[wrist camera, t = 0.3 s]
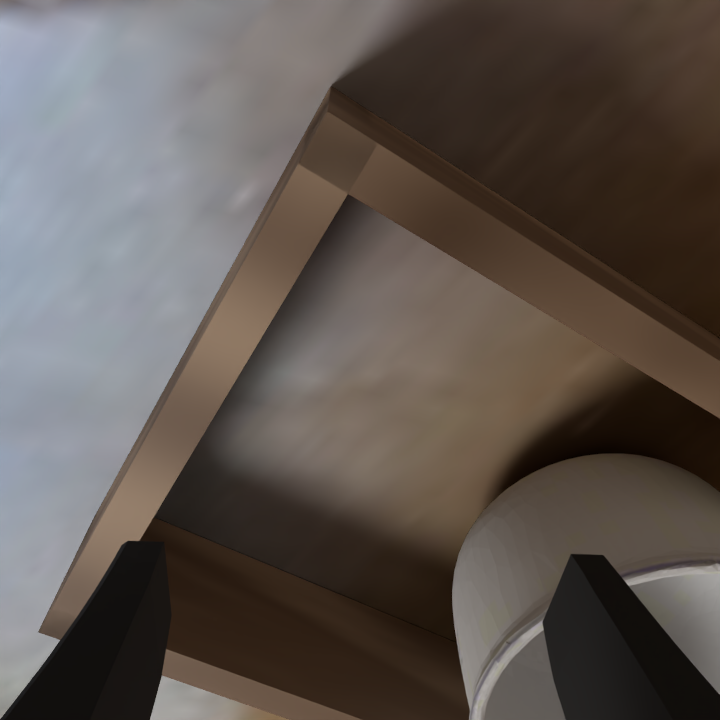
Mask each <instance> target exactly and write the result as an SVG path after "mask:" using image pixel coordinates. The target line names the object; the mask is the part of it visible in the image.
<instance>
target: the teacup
mask: <svg viewBox="0 0 720 720" xmlns="http://www.w3.org/2000/svg"><path fill="white" fill-rule="evenodd" d="M571 554H592V555H604V556H605V557H606V559H607V560H608V561H609V562H610V564H611V565H612V566H613V567H614V568H615V570H616V571H617V572H618V573H619V575H620V576H621V577H622V578H623V580H624V581H625V582H626V583H627V585H628V586H629V587H630V588H631V590H632V591H633V592H634V593H635V595H636V596H637V597H638V598H639V599H640V601H641V602H642V603H643V604H644V606H645V607H646V608H647V609H648V611H649V612H650V613H651V614H652V616H653V617H654V618H655V619H656V620H657V622H658V623H659V624H660V625H661V627H662V628H663V629H664V630H665V631H666V633H667V634H668V635H669V636H670V637H671V639H672V640H673V641H674V642H675V644H676V645H677V646H678V647H679V648H680V649H681V651H682V652H683V653H684V654H685V655H686V656H687V658H688V659H689V660H690V661H691V662H692V663H693V665H694V666H695V667H696V668H697V669H698V670H699V672H700V673H701V674H702V675H703V676H704V677H705V679H706V680H707V681H708V682H709V683H710V684H711V685H712V686H713V688H714V689H715V690H716V691H717V692H718V693H719V694H720V492H719V491H718V490H716V489H715V488H714V487H713V486H711V485H710V484H709V483H707V482H706V481H704V480H703V479H701V478H700V477H698V476H696V475H694V474H693V473H691V472H689V471H687V470H685V469H683V468H681V467H678V466H676V465H673V464H671V463H668V462H665V461H663V460H659V459H654V458H650V457H646V456H641V455H633V454H623V453H614V454H595V455H586V456H581V457H576V458H572V459H567V460H564V461H561V462H558V463H555V464H551V465H548V466H546V467H544V468H542V469H540V470H537V471H535V472H533V473H531V474H530V475H528V476H526V477H524V478H522V479H521V480H519V481H518V482H516V483H515V484H513V485H512V486H510V487H509V488H507V489H506V490H505V491H504V492H502V493H501V494H500V495H499V496H498V497H497V498H496V499H495V500H494V501H492V502H491V503H490V504H489V505H488V506H487V508H486V509H485V510H484V511H483V512H482V513H481V514H480V516H479V517H478V519H477V520H476V521H475V523H474V524H473V526H472V527H471V529H470V531H469V532H468V534H467V536H466V538H465V540H464V543H463V545H462V547H461V550H460V552H459V555H458V559H457V563H456V567H455V570H454V579H453V588H452V606H453V617H454V627H455V633H456V639H457V646H458V652H459V658H460V664H461V669H462V674H463V680H464V685H465V690H466V695H467V699H468V704H469V708H470V714H469V720H566V719H565V716H564V713H563V709H562V706H561V703H560V700H559V697H558V693H557V690H556V687H555V683H554V680H553V675H552V670H551V666H550V661H549V656H548V651H547V645H546V640H545V634H544V629H543V623H542V622H543V620H544V617H545V615H546V612H547V610H548V608H549V605H550V603H551V600H552V598H553V596H554V593H555V591H556V588H557V586H558V584H559V581H560V579H561V576H562V574H563V572H564V569H565V567H566V564H567V562H568V560H569V557H570V555H571Z"/></svg>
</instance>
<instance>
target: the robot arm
mask: <svg viewBox="0 0 720 720" xmlns="http://www.w3.org/2000/svg"><path fill="white" fill-rule="evenodd" d="M171 616H172V613H171V603H170V594H169V584H168V574H167V564H166V554H165V545H164V542H155V541H127V542H125V543H124V544H122V545H121V547H120V549H119V551H118V552H117V554H116V556H115V558H114V559H113V561H112V563H111V564H110V566H109V568H108V569H107V571H106V573H105V574H104V576H103V578H102V579H101V581H100V582H99V584H98V586H97V587H96V589H95V590H94V592H93V593H92V595H91V596H90V598H89V599H88V601H87V603H86V604H85V606H84V607H83V609H82V610H81V612H80V613H79V615H78V616H77V618H76V619H75V620H74V622H73V623H72V625H71V626H70V627H69V629H68V630H67V632H66V633H65V634H64V636H63V637H62V639H61V640H60V642H59V643H58V644H57V646H56V647H55V649H54V650H53V651H52V653H51V654H50V656H49V657H48V658H47V660H46V661H45V662H44V664H43V665H42V667H41V668H40V669H39V671H38V672H37V673H36V674H35V676H34V677H33V678H32V679H31V681H30V682H29V683H28V685H27V686H26V687H25V688H24V690H23V691H22V692H21V694H20V695H19V696H18V697H17V699H16V700H15V701H14V703H13V704H12V705H11V706H10V708H9V709H8V710H7V712H6V713H5V714H4V715H3V717H2V718H1V719H0V720H150V717H151V713H152V710H153V706H154V702H155V698H156V695H157V691H158V687H159V684H160V680H161V676H162V670H163V665H164V659H165V653H166V647H167V641H168V635H169V629H170V623H171ZM542 623H543V629H544V634H545V640H546V645H547V651H548V656H549V661H550V666H551V670H552V675H553V680H554V683H555V687H556V690H557V693H558V697H559V700H560V703H561V706H562V709H563V713H564V716H565V719H566V720H720V694H719V693H718V692H717V691H716V690H715V689H714V688H713V686H712V685H711V684H710V683H709V682H708V681H707V680H706V679H705V677H704V676H703V675H702V674H701V673H700V672H699V670H698V669H697V668H696V667H695V666H694V665H693V663H692V662H691V661H690V660H689V659H688V658H687V656H686V655H685V654H684V653H683V652H682V651H681V649H680V648H679V647H678V646H677V645H676V644H675V642H674V641H673V640H672V639H671V637H670V636H669V635H668V634H667V633H666V631H665V630H664V629H663V628H662V627H661V625H660V624H659V623H658V622H657V620H656V619H655V618H654V617H653V616H652V614H651V613H650V612H649V611H648V609H647V608H646V607H645V606H644V604H643V603H642V602H641V601H640V599H639V598H638V597H637V596H636V595H635V593H634V592H633V591H632V590H631V588H630V587H629V586H628V585H627V583H626V582H625V581H624V580H623V578H622V577H621V576H620V575H619V573H618V572H617V571H616V570H615V568H614V567H613V566H612V565H611V564H610V562H609V561H608V560H607V559H606V557H605V556H604V555H592V554H571V555H570V557H569V560H568V562H567V564H566V567H565V569H564V572H563V574H562V576H561V579H560V581H559V584H558V586H557V588H556V591H555V593H554V596H553V598H552V600H551V603H550V605H549V608H548V610H547V612H546V615H545V617H544V620H543V622H542Z"/></svg>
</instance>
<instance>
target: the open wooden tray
mask: <svg viewBox="0 0 720 720" xmlns="http://www.w3.org/2000/svg"><path fill="white" fill-rule="evenodd" d="M348 194H349V195H351V196H352V197H354V198H356V199H357V200H359V201H361V202H362V203H364V204H366V205H367V206H369V207H371V208H372V209H374V210H376V211H377V212H379V213H381V214H382V215H384V216H386V217H387V218H389V219H391V220H392V221H394V222H395V223H397V224H399V225H400V226H402V227H404V228H405V229H407V230H409V231H410V232H412V233H414V234H415V235H417V236H419V237H420V238H422V239H424V240H425V241H427V242H429V243H430V244H432V245H434V246H435V247H437V248H438V249H440V250H442V251H443V252H445V253H447V254H448V255H450V256H452V257H453V258H455V259H457V260H458V261H460V262H462V263H463V264H465V265H467V266H468V267H470V268H472V269H473V270H475V271H477V272H478V273H480V274H482V275H483V276H485V277H486V278H488V279H490V280H491V281H493V282H495V283H496V284H498V285H500V286H501V287H503V288H505V289H506V290H508V291H510V292H511V293H513V294H515V295H516V296H518V297H520V298H521V299H523V300H525V301H526V302H528V303H529V304H531V305H533V306H534V307H536V308H538V309H539V310H541V311H543V312H544V313H546V314H548V315H549V316H551V317H553V318H554V319H556V320H558V321H559V322H561V323H563V324H564V325H566V326H568V327H569V328H571V329H573V330H574V331H576V332H577V333H579V334H581V335H582V336H584V337H586V338H587V339H589V340H591V341H592V342H594V343H596V344H597V345H599V346H601V347H602V348H604V349H606V350H607V351H609V352H611V353H612V354H614V355H616V356H617V357H619V358H620V359H622V360H624V361H625V362H627V363H629V364H630V365H632V366H634V367H635V368H637V369H639V370H640V371H642V372H644V373H645V374H647V375H649V376H650V377H652V378H654V379H655V380H657V381H659V382H660V383H662V384H663V385H665V386H667V387H668V388H670V389H672V390H673V391H675V392H677V393H678V394H680V395H682V396H683V397H685V398H687V399H688V400H690V401H692V402H693V403H695V404H697V405H698V406H700V407H702V408H703V409H705V410H707V411H708V412H710V413H711V414H713V415H715V416H716V417H718V418H720V338H718V337H717V336H715V335H713V334H712V333H710V332H709V331H707V330H706V329H704V328H703V327H701V326H700V325H698V324H697V323H695V322H693V321H692V320H690V319H689V318H687V317H686V316H684V315H683V314H681V313H680V312H678V311H676V310H675V309H673V308H672V307H670V306H669V305H667V304H666V303H664V302H663V301H661V300H660V299H658V298H656V297H655V296H653V295H652V294H650V293H649V292H647V291H646V290H644V289H643V288H641V287H640V286H638V285H636V284H635V283H633V282H632V281H630V280H629V279H627V278H626V277H624V276H623V275H621V274H620V273H618V272H616V271H615V270H613V269H612V268H610V267H609V266H607V265H606V264H604V263H603V262H601V261H600V260H598V259H596V258H595V257H593V256H592V255H590V254H589V253H587V252H586V251H584V250H583V249H581V248H580V247H578V246H576V245H575V244H573V243H572V242H570V241H569V240H567V239H566V238H564V237H563V236H561V235H560V234H558V233H556V232H555V231H553V230H552V229H550V228H549V227H547V226H546V225H544V224H543V223H541V222H540V221H538V220H536V219H535V218H533V217H532V216H530V215H529V214H527V213H526V212H524V211H523V210H521V209H520V208H518V207H516V206H515V205H513V204H512V203H510V202H509V201H507V200H506V199H504V198H503V197H501V196H500V195H498V194H496V193H495V192H493V191H492V190H490V189H489V188H487V187H486V186H484V185H483V184H481V183H480V182H478V181H476V180H475V179H473V178H472V177H470V176H469V175H467V174H466V173H464V172H463V171H461V170H460V169H458V168H456V167H455V166H453V165H452V164H450V163H449V162H447V161H446V160H444V159H443V158H441V157H440V156H438V155H436V154H435V153H433V152H432V151H430V150H429V149H427V148H426V147H424V146H423V145H421V144H420V143H418V142H416V141H415V140H413V139H412V138H410V137H409V136H407V135H406V134H404V133H403V132H401V131H400V130H398V129H396V128H395V127H393V126H392V125H390V124H389V123H387V122H386V121H384V120H383V119H381V118H380V117H378V116H376V115H375V114H373V113H372V112H370V111H369V110H367V109H366V108H364V107H363V106H361V105H360V104H358V103H356V102H355V101H353V100H352V99H350V98H349V97H347V96H346V95H344V94H343V93H341V92H340V91H338V90H336V89H335V88H333V87H332V86H331V87H330V88H329V90H328V92H327V94H326V96H325V97H324V99H323V101H322V103H321V105H320V107H319V108H318V110H317V112H316V114H315V116H314V118H313V119H312V121H311V123H310V125H309V127H308V128H307V130H306V132H305V134H304V136H303V138H302V139H301V141H300V143H299V145H298V147H297V149H296V150H295V152H294V154H293V156H292V158H291V159H290V161H289V163H288V165H287V167H286V169H285V170H284V172H283V174H282V176H281V178H280V179H279V181H278V183H277V185H276V187H275V189H274V190H273V192H272V194H271V196H270V198H269V200H268V201H267V203H266V205H265V207H264V209H263V210H262V212H261V214H260V216H259V218H258V220H257V221H256V223H255V225H254V227H253V229H252V231H251V232H250V234H249V236H248V238H247V240H246V241H245V243H244V245H243V247H242V249H241V251H240V252H239V254H238V256H237V258H236V260H235V262H234V263H233V265H232V267H231V269H230V271H229V272H228V274H227V276H226V278H225V280H224V282H223V283H222V285H221V287H220V289H219V291H218V293H217V294H216V296H215V298H214V300H213V302H212V303H211V305H210V307H209V309H208V311H207V313H206V314H205V316H204V318H203V320H202V322H201V324H200V325H199V327H198V329H197V331H196V333H195V334H194V336H193V338H192V340H191V342H190V344H189V345H188V347H187V349H186V351H185V353H184V355H183V356H182V358H181V360H180V362H179V364H178V365H177V367H176V369H175V371H174V373H173V375H172V376H171V378H170V380H169V382H168V384H167V386H166V387H165V389H164V391H163V393H162V395H161V396H160V398H159V400H158V402H157V404H156V406H155V407H154V409H153V411H152V413H151V415H150V417H149V418H148V420H147V422H146V424H145V426H144V427H143V429H142V431H141V433H140V435H139V437H138V438H137V440H136V442H135V444H134V446H133V447H132V449H131V451H130V453H129V455H128V457H127V458H126V460H125V462H124V464H123V466H122V468H121V469H120V471H119V473H118V475H117V477H116V478H115V480H114V482H113V484H112V486H111V488H110V489H109V491H108V493H107V495H106V497H105V499H104V500H103V502H102V504H101V506H100V508H99V509H98V511H97V513H96V515H95V517H94V519H93V521H92V523H91V525H90V527H89V529H88V531H87V533H86V535H85V537H84V539H83V541H82V543H81V545H80V547H79V549H78V551H77V553H76V555H75V558H74V560H73V562H72V564H71V566H70V568H69V570H68V572H67V574H66V576H65V578H64V580H63V582H62V584H61V586H60V588H59V590H58V592H57V594H56V597H55V599H54V601H53V603H52V605H51V607H50V609H49V611H48V613H47V615H46V617H45V619H44V621H43V623H42V625H41V627H40V629H39V631H38V632H39V633H42V634H45V635H48V636H51V637H54V638H57V639H59V640H61V639H62V637H63V636H64V634H65V633H66V632H67V630H68V629H69V627H70V626H71V625H72V623H73V622H74V620H75V619H76V618H77V616H78V615H79V613H80V612H81V610H82V609H83V607H84V606H85V604H86V603H87V601H88V599H89V598H90V596H91V595H92V593H93V592H94V590H95V589H96V587H97V586H98V584H99V582H100V581H101V579H102V578H103V576H104V574H105V573H106V571H107V569H108V568H109V566H110V564H111V563H112V561H113V559H114V558H115V556H116V554H117V552H118V551H119V549H120V547H121V545H122V544H124V543H125V542H127V541H155V542H164V545H165V554H166V564H167V574H168V584H169V594H170V603H171V613H172V616H171V623H170V629H169V635H168V641H167V647H166V653H165V659H164V665H163V670H162V675H163V676H166V677H169V678H171V679H174V680H177V681H180V682H183V683H186V684H189V685H192V686H194V687H197V688H200V689H203V690H206V691H209V692H212V693H215V694H217V695H220V696H223V697H226V698H229V699H232V700H235V701H238V702H240V703H243V704H246V705H249V706H252V707H255V708H258V709H261V710H263V711H266V712H269V713H272V714H275V715H278V716H281V717H284V718H286V719H289V720H469V714H470V708H469V704H468V699H467V695H466V690H465V685H464V680H463V674H462V669H461V664H460V658H459V652H458V646H457V643H455V642H453V641H451V640H448V639H446V638H443V637H441V636H439V635H436V634H434V633H431V632H429V631H426V630H424V629H422V628H419V627H417V626H414V625H412V624H410V623H407V622H405V621H402V620H400V619H398V618H395V617H393V616H390V615H388V614H386V613H383V612H381V611H378V610H376V609H373V608H371V607H369V606H366V605H364V604H361V603H359V602H357V601H354V600H352V599H349V598H347V597H345V596H342V595H340V594H337V593H335V592H332V591H330V590H328V589H325V588H323V587H320V586H318V585H316V584H313V583H311V582H308V581H306V580H304V579H301V578H299V577H296V576H294V575H291V574H289V573H287V572H284V571H282V570H279V569H277V568H275V567H272V566H270V565H267V564H265V563H263V562H260V561H258V560H255V559H253V558H250V557H248V556H246V555H243V554H241V553H238V552H236V551H234V550H231V549H229V548H226V547H224V546H222V545H219V544H217V543H214V542H212V541H209V540H207V539H205V538H202V537H200V536H197V535H195V534H193V533H190V532H188V531H185V530H183V529H181V528H178V527H176V526H173V525H171V524H168V523H166V522H164V521H161V520H159V519H156V518H154V516H155V514H156V512H157V511H158V509H159V507H160V506H161V504H162V502H163V501H164V499H165V497H166V496H167V494H168V492H169V491H170V489H171V487H172V486H173V484H174V482H175V481H176V479H177V477H178V476H179V474H180V472H181V471H182V469H183V467H184V466H185V464H186V462H187V461H188V459H189V457H190V456H191V454H192V452H193V451H194V449H195V447H196V446H197V444H198V442H199V441H200V439H201V437H202V436H203V434H204V432H205V431H206V429H207V427H208V426H209V424H210V423H211V421H212V419H213V418H214V416H215V414H216V413H217V411H218V409H219V408H220V406H221V404H222V403H223V401H224V399H225V398H226V396H227V394H228V393H229V391H230V389H231V388H232V386H233V384H234V383H235V381H236V379H237V378H238V376H239V374H240V373H241V371H242V369H243V368H244V366H245V364H246V363H247V361H248V359H249V358H250V356H251V354H252V353H253V351H254V349H255V348H256V346H257V344H258V343H259V341H260V339H261V338H262V336H263V334H264V333H265V331H266V329H267V328H268V326H269V324H270V323H271V321H272V319H273V318H274V316H275V314H276V313H277V311H278V309H279V308H280V306H281V304H282V303H283V301H284V299H285V298H286V296H287V294H288V293H289V291H290V289H291V288H292V286H293V284H294V283H295V281H296V279H297V278H298V276H299V274H300V273H301V271H302V269H303V268H304V266H305V264H306V263H307V261H308V259H309V258H310V256H311V254H312V253H313V251H314V249H315V248H316V246H317V244H318V243H319V241H320V240H321V238H322V236H323V235H324V233H325V231H326V230H327V228H328V226H329V225H330V223H331V221H332V220H333V218H334V216H335V215H336V213H337V211H338V210H339V208H340V206H341V205H342V203H343V201H344V200H345V198H346V196H347V195H348Z"/></svg>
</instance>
